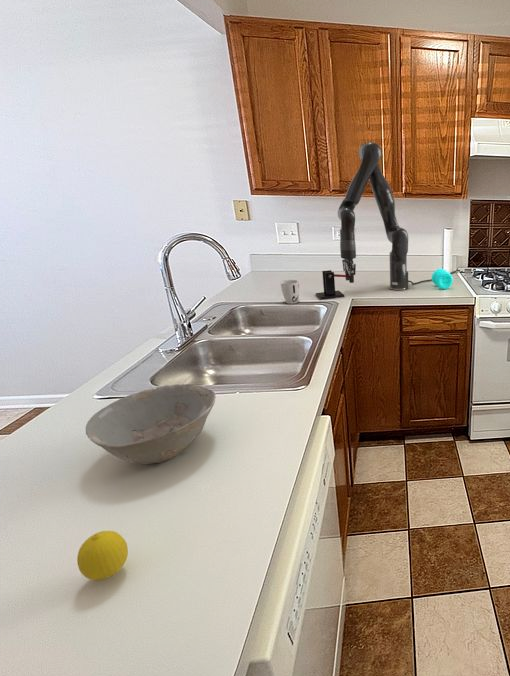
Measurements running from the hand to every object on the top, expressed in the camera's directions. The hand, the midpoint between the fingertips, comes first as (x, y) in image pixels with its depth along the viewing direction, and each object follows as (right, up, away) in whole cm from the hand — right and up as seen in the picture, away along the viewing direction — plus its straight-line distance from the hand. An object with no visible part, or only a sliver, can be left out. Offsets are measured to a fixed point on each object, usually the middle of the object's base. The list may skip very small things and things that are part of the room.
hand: (349, 281), depth 205 cm
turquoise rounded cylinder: (+48, -1, +20) cm, 52 cm away
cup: (-24, -12, -14) cm, 31 cm away
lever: (-5, +1, -4) cm, 6 cm away
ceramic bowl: (-12, -51, -117) cm, 128 cm away
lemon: (0, -62, -145) cm, 157 cm away
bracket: (-9, -8, -3) cm, 13 cm away
